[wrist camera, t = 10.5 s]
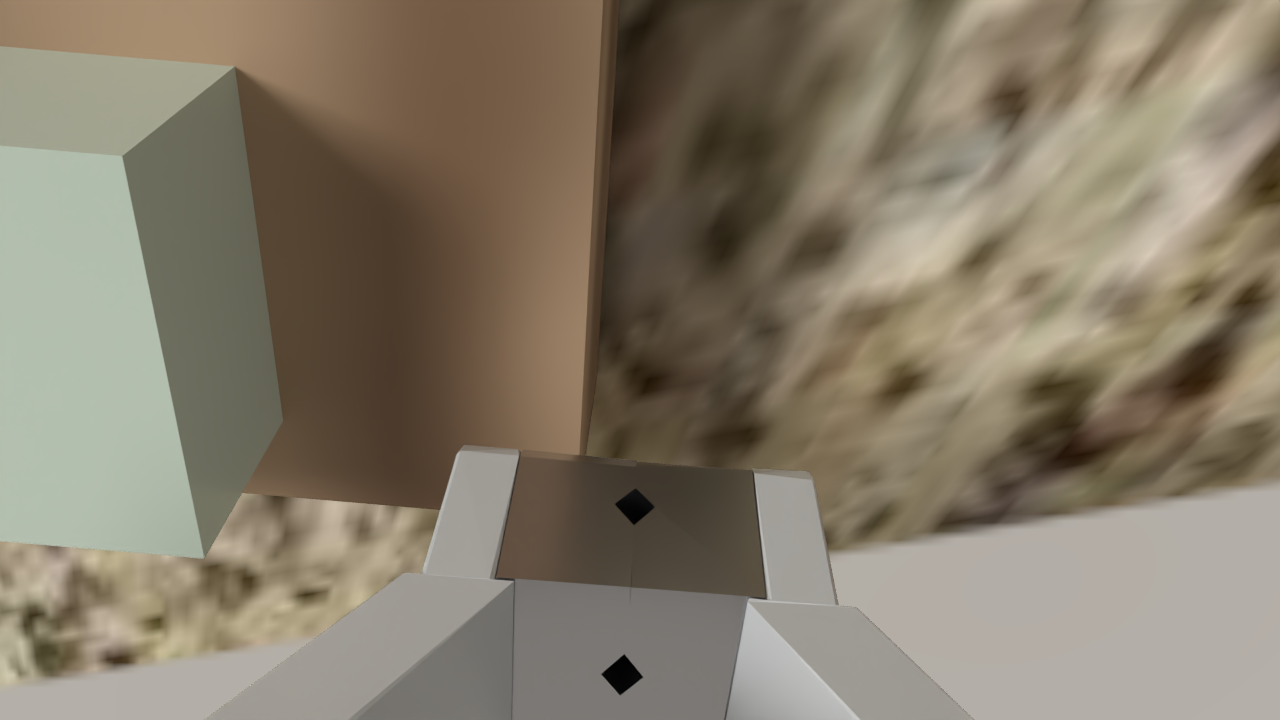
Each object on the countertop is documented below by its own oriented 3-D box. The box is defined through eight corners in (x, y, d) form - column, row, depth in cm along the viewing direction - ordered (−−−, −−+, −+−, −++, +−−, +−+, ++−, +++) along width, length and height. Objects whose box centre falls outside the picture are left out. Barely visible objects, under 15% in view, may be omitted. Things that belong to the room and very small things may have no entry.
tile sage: (234, 65, 11) (122, 155, 9) (283, 421, 13) (204, 558, 11) (-201, 29, 11) (-420, 109, 9) (-74, 390, 13) (-220, 521, 11)
